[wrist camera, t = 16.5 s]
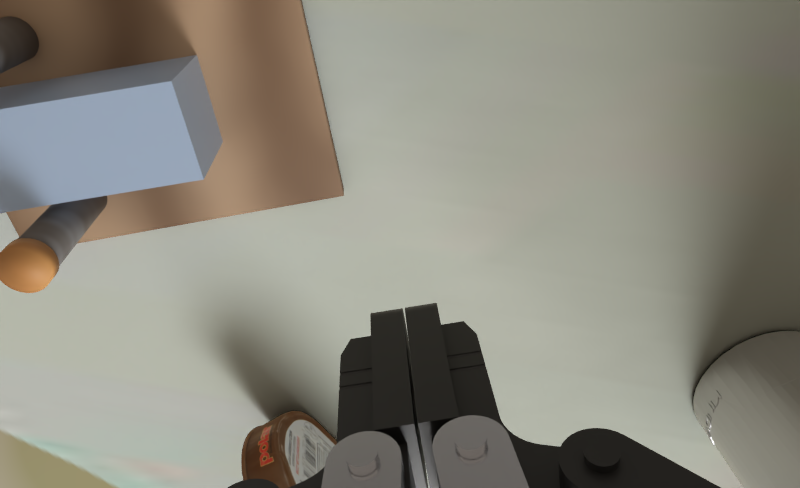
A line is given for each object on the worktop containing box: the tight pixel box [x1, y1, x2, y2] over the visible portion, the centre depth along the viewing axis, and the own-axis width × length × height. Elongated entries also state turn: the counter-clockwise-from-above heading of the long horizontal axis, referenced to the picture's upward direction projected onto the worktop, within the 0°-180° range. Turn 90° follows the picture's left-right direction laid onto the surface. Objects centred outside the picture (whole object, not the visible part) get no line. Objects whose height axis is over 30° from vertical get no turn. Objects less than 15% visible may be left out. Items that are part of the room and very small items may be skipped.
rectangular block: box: [0, 55, 223, 213], centre depth 26 cm, size 4×9×4 cm, turn 98°
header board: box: [0, 0, 344, 293], centre depth 25 cm, size 16×12×8 cm
